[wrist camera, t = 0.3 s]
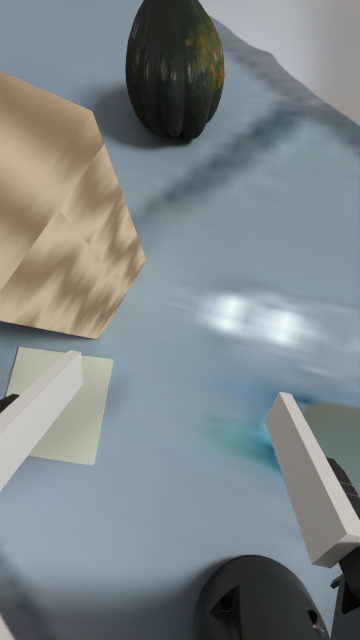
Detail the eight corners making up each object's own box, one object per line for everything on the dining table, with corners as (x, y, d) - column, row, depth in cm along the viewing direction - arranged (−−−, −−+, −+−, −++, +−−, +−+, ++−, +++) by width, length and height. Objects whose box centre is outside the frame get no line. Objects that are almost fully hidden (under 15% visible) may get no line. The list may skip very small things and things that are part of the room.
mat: (94, 463, 27) (92, 465, 27) (-6, 448, 28) (-9, 450, 27) (113, 359, 30) (112, 359, 29) (21, 346, 30) (19, 346, 30)
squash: (182, 146, 30) (230, -42, 20) (100, 110, 32) (109, -77, 22) (210, 157, 40) (250, 38, 31) (148, 130, 42) (167, 10, 33)
